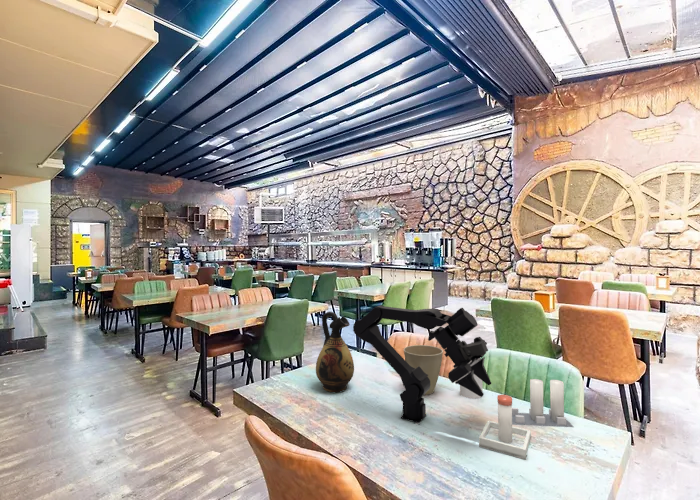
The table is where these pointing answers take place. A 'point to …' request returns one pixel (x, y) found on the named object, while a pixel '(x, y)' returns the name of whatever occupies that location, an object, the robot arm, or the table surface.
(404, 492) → the table surface
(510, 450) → the tray
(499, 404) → the white cylinder orange top
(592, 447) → the table surface
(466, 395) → the pill bottle
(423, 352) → the plant pot
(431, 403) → the table surface
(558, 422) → the fuse panel
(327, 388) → the ceramic jug
